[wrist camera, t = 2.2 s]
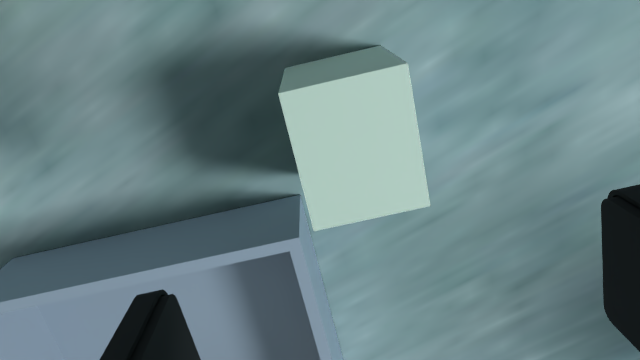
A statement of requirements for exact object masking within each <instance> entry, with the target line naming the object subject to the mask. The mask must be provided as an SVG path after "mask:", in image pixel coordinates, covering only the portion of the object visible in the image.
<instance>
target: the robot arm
mask: <svg viewBox="0 0 640 360" xmlns="http://www.w3.org/2000/svg"><path fill="white" fill-rule="evenodd" d="M601 219H602V257H603V294H604V309H605V312H606V314H607V317H608V318H609V320H610V321H611V322H612V324H613V325H614V326H615V327H616V328H617V329H618V330H619V331H620V332H621V333H622V334H623V335H624V336H625V337H626V338H627V339H628V340H629V341H630V342H631V343H632V344H633V345H634V346H635V347H636V348H637V349H638V350H639V351H640V185H635V186H630V187H626V188H621V189H617V190H612V191H611V192H610V193H609V195H608V198H607V199H604V200H603V201H602V204H601ZM100 360H201V359H200V356H199V354H198V351H197V349H196V346H195V343H194V341H193V338H192V336H191V333H190V331H189V328H188V325H187V323H186V320H185V318H184V315H183V313H182V310H181V307H180V305H179V302H178V300H177V298H176V296H175V295H174V294H170V295H168V293H167V292H166V291H165V290H163V289H162V290H157V291H153V292H148V293H144V294H139V295H136V297H135V298H134V299H133V301H132V303H131V305H130V307H129V308H128V310H127V312H126V314H125V315H124V317H123V319H122V321H121V322H120V324H119V326H118V328H117V330H116V331H115V333H114V335H113V337H112V338H111V340H110V342H109V344H108V346H107V347H106V349H105V351H104V353H103V354H102V356H101V358H100Z"/></svg>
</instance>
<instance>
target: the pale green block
mask: <svg viewBox="0 0 640 360" xmlns="http://www.w3.org/2000/svg"><path fill="white" fill-rule="evenodd" d="M278 95H279V99H280V103H281V106H282V110H283V114H284V118H285V122H286V126H287V130H288V133H289V137H290V141H291V145H292V149H293V153H294V157H295V161H296V164H297V168H298V172H299V176H300V180H301V184H302V188H303V191H304V195H305V199H306V203H307V207H308V211H309V215H310V218H311V222H312V226H313V230H314V231H318V230H322V229H327V228H332V227H336V226H341V225H345V224H350V223H355V222H359V221H364V220H369V219H373V218H378V217H382V216H387V215H392V214H396V213H401V212H405V211H410V210H415V209H419V208H424V207H428V206H430V200H429V193H428V187H427V181H426V175H425V168H424V162H423V156H422V149H421V143H420V137H419V130H418V124H417V118H416V111H415V105H414V99H413V92H412V86H411V80H410V74H409V67H408V63H407V62H405V61H404V60H402V59H401V58H399V57H398V56H396V55H395V54H393V53H392V52H390V51H389V50H387V49H385V48H384V47H382V46H381V45H380V46H376V47H372V48H367V49H363V50H359V51H355V52H350V53H346V54H342V55H338V56H333V57H329V58H325V59H321V60H316V61H312V62H308V63H304V64H299V65H295V66H291V67H287V68H285V70H284V74H283V77H282V81H281V85H280V88H279V92H278Z"/></svg>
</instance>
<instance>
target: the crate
mask: <svg viewBox="0 0 640 360" xmlns="http://www.w3.org/2000/svg"><path fill="white" fill-rule="evenodd" d="M162 289H163V290H165V291H166V292H167V293H168V295H170V294H174V295H175V296H176V298H177V300H178V302H179V305H180V307H181V310H182V313H183V315H184V318H185V320H186V323H187V325H188V328H189V331H190V333H191V336H192V338H193V341H194V343H195V346H196V349H197V351H198V354H199V356H200V359H201V360H343V356H342V352H341V349H340V345H339V341H338V337H337V333H336V330H335V326H334V322H333V318H332V314H331V310H330V307H329V303H328V299H327V295H326V291H325V288H324V284H323V280H322V276H321V272H320V268H319V265H318V261H317V257H316V253H315V249H314V246H313V242H312V238H311V234H310V230H309V227H308V223H307V219H306V215H305V211H304V207H303V204H302V200H301V196H300V195H296V196H292V197H287V198H283V199H278V200H274V201H269V202H265V203H260V204H256V205H251V206H247V207H242V208H238V209H233V210H229V211H224V212H220V213H215V214H210V215H206V216H201V217H197V218H192V219H188V220H183V221H179V222H174V223H170V224H165V225H161V226H156V227H152V228H147V229H143V230H138V231H134V232H129V233H125V234H120V235H116V236H111V237H107V238H102V239H98V240H93V241H89V242H84V243H80V244H75V245H71V246H66V247H62V248H57V249H52V250H48V251H43V252H39V253H34V254H30V255H25V256H21V257H16V258H13V259H12V260H10V261H9V262H8V263H7V264H6V265H5V266H4V267H3V268H1V269H0V360H100V358H101V356H102V354H103V353H104V351H105V349H106V347H107V346H108V344H109V342H110V340H111V338H112V337H113V335H114V333H115V331H116V330H117V328H118V326H119V324H120V322H121V321H122V319H123V317H124V315H125V314H126V312H127V310H128V308H129V307H130V305H131V303H132V301H133V299H134V298H135V297H136V295H139V294H144V293H148V292H153V291H157V290H162Z"/></svg>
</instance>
